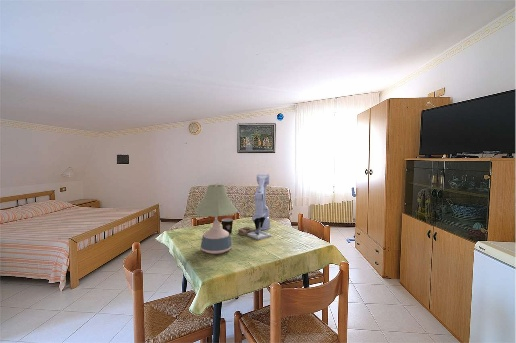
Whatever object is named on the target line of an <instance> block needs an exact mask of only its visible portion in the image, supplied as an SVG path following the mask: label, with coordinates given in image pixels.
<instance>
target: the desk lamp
mask: <svg viewBox="0 0 516 343" xmlns="http://www.w3.org/2000/svg"><path fill="white" fill-rule="evenodd" d="M238 213H239V211H238V209H237V208H236V207H235V205H234V204H233V203H232V201H231V200H230V198H229V196H228V194H227V191H226V187H225V185H223V184H218V182H215V183H214V184H209V185H208V186H207V189H206V191H205V194H204V197H203V199H202V201H201V202H200V204H199V205H198V206H196V208H195V209H194V214H195V215H197V216H201V217H202V216H205V217H206V216H207V217H214V220H213V221H212V227H211V228H210V229H209V230H207V231H205V232H204V233H203V235H202V238H201V244H200V249H201V251H202V252H204V253H207V254H210V255H220V254H223V253H226V252H228V251H230V249H232V246H233V244H232V239H231V235H230V234H229V232H227V231H225V230H224V229H223V227H221V223H220V221H219V220H218V219H219V218H218V217H224V216H229V215H233V214H238Z"/></svg>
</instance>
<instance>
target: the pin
mask: <svg viewBox="0 0 516 343" xmlns="http://www.w3.org/2000/svg"><path fill="white" fill-rule="evenodd" d="M261 224H262V222H259V229H256V228H255V234H257V235H259V234H260V231H261V230H260V227H261Z"/></svg>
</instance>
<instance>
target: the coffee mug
mask: <svg viewBox="0 0 516 343" xmlns="http://www.w3.org/2000/svg"><path fill="white" fill-rule="evenodd" d="M219 222H220V221H219ZM233 223H234V219H232V218H223V219H221V222H220V225H221V226H222V227H221V228H222V229H224V230H225V231H227V232H229V234H232V232H233Z"/></svg>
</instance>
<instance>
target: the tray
mask: <svg viewBox="0 0 516 343" xmlns="http://www.w3.org/2000/svg"><path fill="white" fill-rule="evenodd" d="M271 235H272V234H271V233H268V232H266V231H264V230H260V234H259V235H257V234H255V232H251V233H248V235H247V237H249V238H252V239H254V240H257V241H259V240H263V239H267V238H271Z"/></svg>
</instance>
